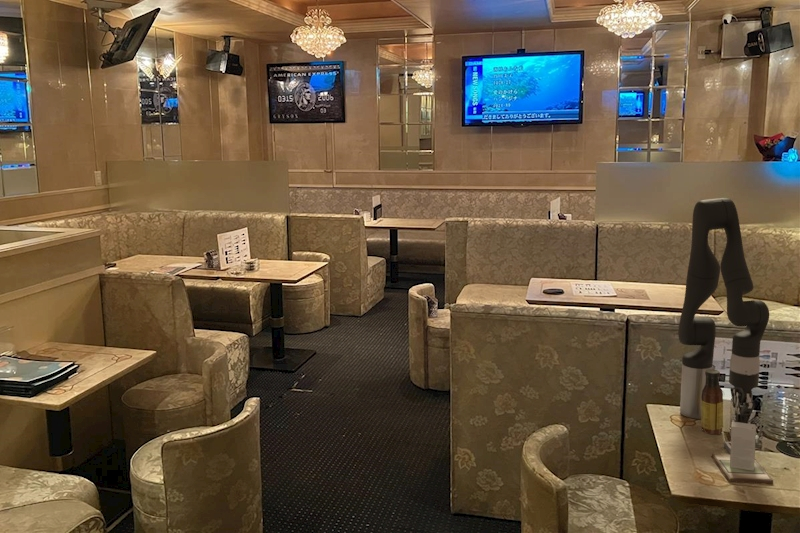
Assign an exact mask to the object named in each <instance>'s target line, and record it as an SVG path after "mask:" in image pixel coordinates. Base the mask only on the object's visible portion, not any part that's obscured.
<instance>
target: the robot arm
mask: <svg viewBox="0 0 800 533" xmlns="http://www.w3.org/2000/svg"><path fill="white" fill-rule="evenodd" d="M737 210H738V209H737V206H736V205H735V202H734V201H733V200H732V199H731V198H729V197H719V198H707V199H703V200H698V201H697V202H696V203H695V205H694V207H693V211H692V226H691V227H692V228H691V229H692V230H691V247H690V255H689V260H688V261H689V262H688V265H687V266H688V267H687V274H686V279H685V280H686V282H685V283H686V284H685V292H684V293H685V294H684V300H683V305H682V309H681V315H680V319H679V323H678V329H677V330H678V332H677V334H678V335H677V336H678V340H679V343H681V344H682V345H685V346H698V347H697V349H695V350H692V351H689V352H686V353H684V354H683V355H682V358H681V379H680V380H681V381H680V382H681V384H680V404H679V412H680V414H681V415H682V416H684V417H687V418H690V419H696V420H697V419H699V420H701V396H702V390H703V389H704V387H705V384H706V375H705V372H706V370H708V369H713V364H714V363H713V362H714V355H715V354H714V353H715V352H714V351H715V342H716V334H717V327H716V323H715V320H714V319H713V318H712V317H705V316H704V317H703V316H702V317H701V316H699V317H697V316H696V314H697V312H698V311H699V309H700V308H701V306H703V304H704V303H706V302H707V301H708V299H710V297H711V296H712V295H713V294H714V293H715V292H716V291H717V289H718V286H719V283H720V282H719V280H720V275H721V277H722V280H723V283H724V287H725V290H726V315H727V318H728V320H729V322H730V323H731V324H732V325H734V326H735V327H745V329H743V330H741V331H739V332H736V333H735V334H733V336H732V343H731V344H732V345H731V355H730V360H729V372H728V373H729V375H728V376H729V377H728V382H729V384H730V385H731V386H733V387H730V389H729V390H730V394H731V401H732V406H733V408H735V410H734V411H735V413H736V414H735V416H736V417H735V422H740V423H747V416H751V414H752V413H753V411H754V410H755V407H756V403H755V402H752V400H753V397H754V396H753V391H752V390H753V389H756V388H757V387H758V386H759V380H760V379H759V378H760V368H761V367H760V364H761V362H760V353H761V352H760V350H761V341H762V339H763V337H764V334H765V331H766V329H767V326H768V323H769V320H770V310H769V306H768V305H767V304H766V303H765V301H762V300H758V299H757V300H756V299H755V300H743V296H744V295H747V294H749V293H751V292H753V290H754V283H753V280H752V276H751V274H750V273H751V272H750V271H749V266H748V265H747V262H746V257H745V253H744V248H743V238H742V230H741V227H740V225H741V224H740V220H739V219H740V218H739V214H738V211H737ZM715 230H724V233H725V236H726V243H725V248H724V250H723V253H722V257H721V261H720V263H719V261H718V259H717V257H716V255H715V254H714V252H713V251H712V249H711V247H710V245H709V232H710V231H715Z"/></svg>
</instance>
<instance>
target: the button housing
mask: <svg viewBox="0 0 800 533" xmlns="http://www.w3.org/2000/svg"><path fill="white" fill-rule="evenodd" d="M730 442H731V441H724V442H723V449H724V450H725V451H726V453H727V454H730V451H731V446H730Z"/></svg>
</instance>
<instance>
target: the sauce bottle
mask: <svg viewBox="0 0 800 533" xmlns="http://www.w3.org/2000/svg"><path fill="white" fill-rule="evenodd" d="M705 375H706V384H705V387H704V389H703V390H702V396H701V419H700V426H701V430H702V432H704V433H706V434H710V435H719V434H722V433H723V427H724V392H723V390H722V387H721V386H720V375H721V373H720V370H718V369H713V368H712V369H708V370H706V372H705Z"/></svg>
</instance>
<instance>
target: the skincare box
mask: <svg viewBox="0 0 800 533" xmlns="http://www.w3.org/2000/svg"><path fill="white" fill-rule="evenodd" d="M730 428H731V429H730V430H731V431H730V433H731V434H730V442H731V451H730V467H731V468H737V469H744V470H750V471H754V462H755V459H756V440H757V438H756V436H757V426H756V424H755V423H747V422H746V423H740V422H736V421H731V427H730Z"/></svg>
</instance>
